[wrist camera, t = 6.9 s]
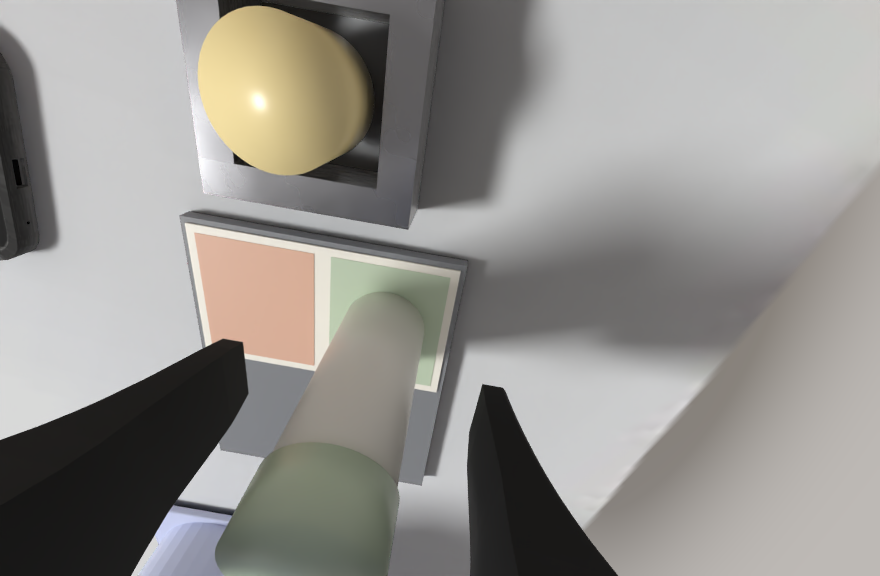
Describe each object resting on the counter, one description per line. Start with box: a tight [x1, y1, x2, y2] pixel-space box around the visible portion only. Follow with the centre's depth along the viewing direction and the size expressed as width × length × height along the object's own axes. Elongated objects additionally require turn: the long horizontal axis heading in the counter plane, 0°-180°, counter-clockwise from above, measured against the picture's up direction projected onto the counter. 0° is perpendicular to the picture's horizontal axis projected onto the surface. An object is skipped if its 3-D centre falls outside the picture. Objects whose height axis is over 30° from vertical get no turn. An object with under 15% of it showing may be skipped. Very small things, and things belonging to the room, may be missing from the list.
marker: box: [215, 292, 425, 576], centre depth 11 cm, size 3×3×8 cm
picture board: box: [180, 211, 468, 486], centre depth 16 cm, size 12×10×1 cm
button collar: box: [176, 0, 445, 229], centre depth 10 cm, size 6×6×2 cm
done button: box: [198, 6, 374, 175], centre depth 9 cm, size 3×3×2 cm
